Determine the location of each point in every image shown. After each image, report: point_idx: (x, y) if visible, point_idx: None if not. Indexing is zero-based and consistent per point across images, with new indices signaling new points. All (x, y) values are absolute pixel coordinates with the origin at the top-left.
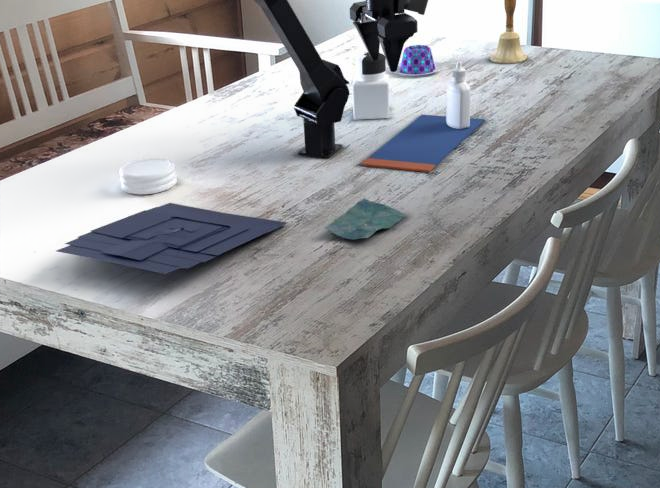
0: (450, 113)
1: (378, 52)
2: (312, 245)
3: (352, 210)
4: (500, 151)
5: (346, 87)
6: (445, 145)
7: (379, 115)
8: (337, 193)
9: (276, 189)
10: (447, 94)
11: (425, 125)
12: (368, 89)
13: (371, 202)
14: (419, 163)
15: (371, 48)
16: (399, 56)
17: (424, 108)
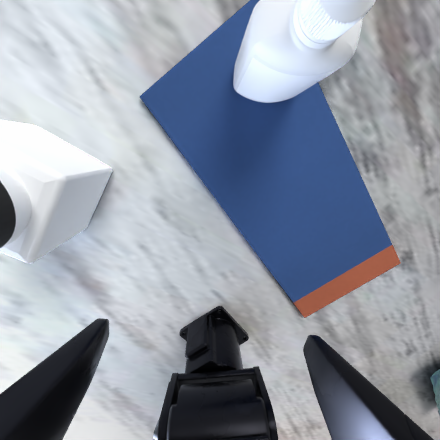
0: (274, 95)
1: (90, 347)
2: (431, 417)
3: (437, 393)
4: (433, 109)
5: (268, 429)
6: (341, 180)
7: (103, 186)
8: (356, 366)
9: (295, 403)
10: (265, 75)
11: (216, 139)
12: (56, 225)
13: (436, 371)
14: (370, 259)
15: (74, 404)
16: (383, 400)
17: (78, 45)
